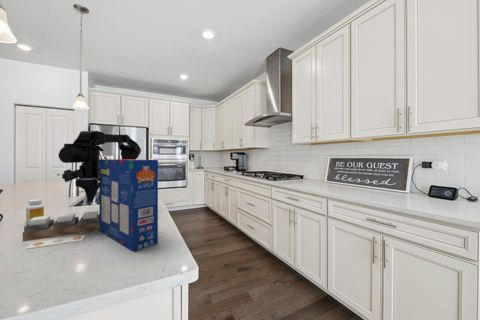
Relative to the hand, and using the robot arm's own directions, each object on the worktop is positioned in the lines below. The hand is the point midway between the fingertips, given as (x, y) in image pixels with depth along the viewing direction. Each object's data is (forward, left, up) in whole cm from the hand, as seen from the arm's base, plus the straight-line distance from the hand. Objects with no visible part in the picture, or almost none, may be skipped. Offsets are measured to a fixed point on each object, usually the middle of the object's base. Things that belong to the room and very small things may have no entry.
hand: (90, 201), depth 80 cm
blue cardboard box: (-13, +16, -11) cm, 23 cm away
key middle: (+8, 0, -7) cm, 10 cm away
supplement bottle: (+23, -22, -11) cm, 34 cm away
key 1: (+15, 0, -7) cm, 16 cm away
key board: (+7, 0, -11) cm, 13 cm away
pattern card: (+7, +10, -11) cm, 17 cm away
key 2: (0, 0, -7) cm, 7 cm away
